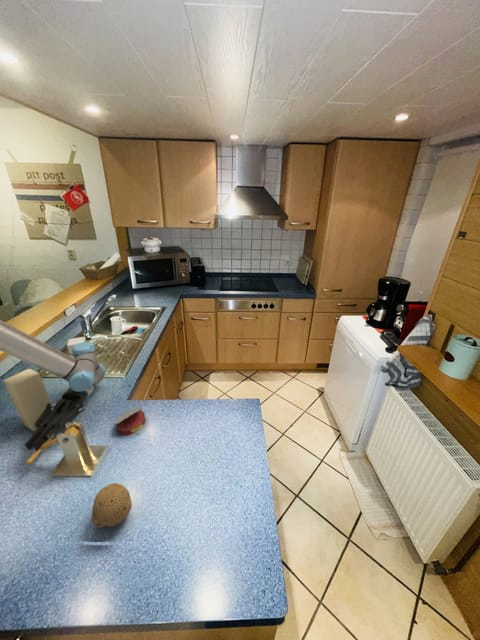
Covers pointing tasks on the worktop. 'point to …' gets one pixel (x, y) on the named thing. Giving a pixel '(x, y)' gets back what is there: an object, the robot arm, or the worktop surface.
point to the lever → (47, 444)
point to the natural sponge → (111, 505)
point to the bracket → (77, 453)
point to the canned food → (130, 421)
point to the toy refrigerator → (28, 396)
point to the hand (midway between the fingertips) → (31, 447)
